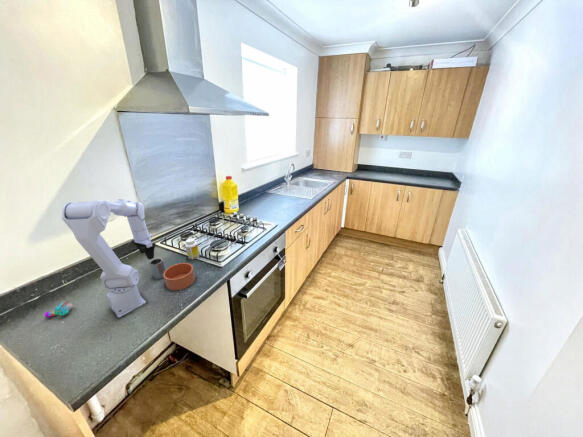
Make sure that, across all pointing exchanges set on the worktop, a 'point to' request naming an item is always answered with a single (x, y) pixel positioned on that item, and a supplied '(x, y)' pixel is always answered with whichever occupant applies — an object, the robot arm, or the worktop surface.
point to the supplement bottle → (192, 248)
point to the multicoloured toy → (63, 310)
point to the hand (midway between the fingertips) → (147, 255)
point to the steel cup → (157, 268)
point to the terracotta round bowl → (179, 276)
